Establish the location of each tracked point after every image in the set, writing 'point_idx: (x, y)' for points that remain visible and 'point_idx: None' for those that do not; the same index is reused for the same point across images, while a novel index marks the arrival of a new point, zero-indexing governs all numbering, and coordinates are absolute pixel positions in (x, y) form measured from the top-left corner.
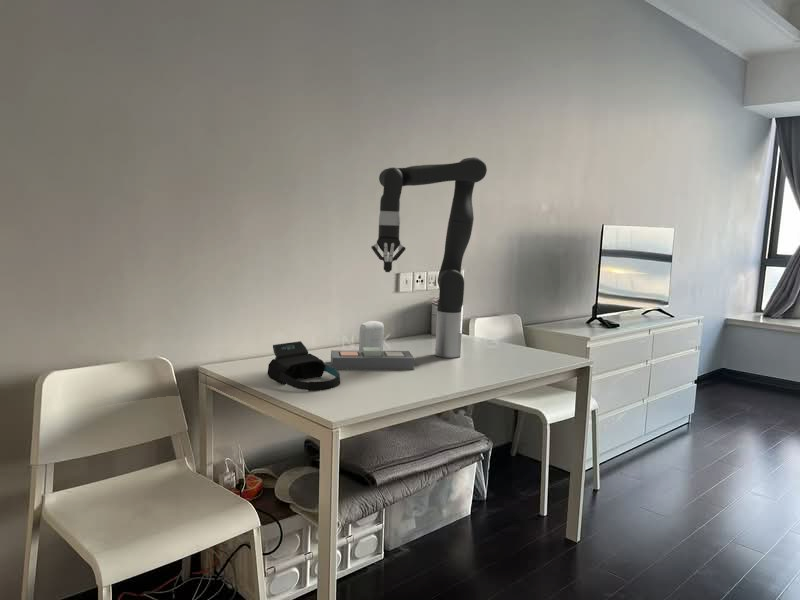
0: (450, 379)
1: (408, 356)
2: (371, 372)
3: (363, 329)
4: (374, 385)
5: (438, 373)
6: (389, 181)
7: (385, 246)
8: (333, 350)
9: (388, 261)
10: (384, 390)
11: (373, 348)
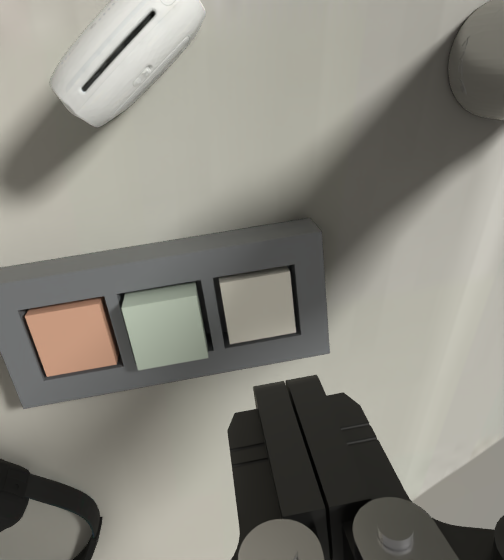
0: (410, 417)
1: (310, 331)
2: (176, 391)
3: (80, 118)
4: (196, 508)
5: (391, 362)
6: None
7: None
8: None
9: (346, 558)
10: (223, 537)
11: (170, 320)
